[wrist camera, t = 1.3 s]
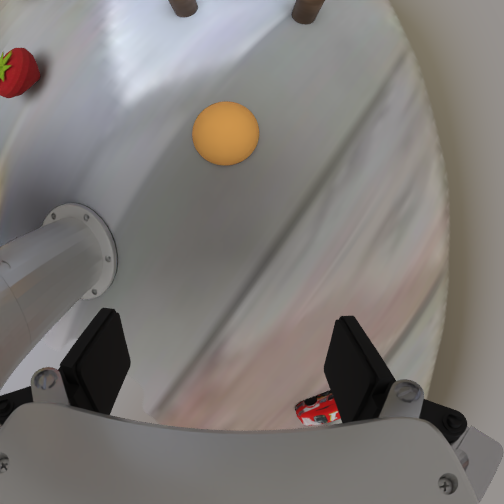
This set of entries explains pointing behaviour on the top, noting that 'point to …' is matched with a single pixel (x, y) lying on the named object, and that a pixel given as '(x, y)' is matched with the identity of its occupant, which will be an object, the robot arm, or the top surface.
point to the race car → (318, 410)
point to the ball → (225, 133)
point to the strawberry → (17, 72)
